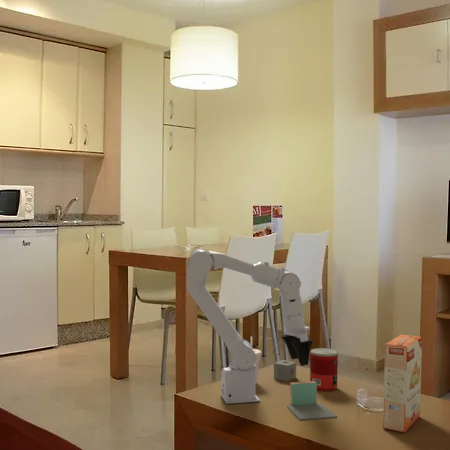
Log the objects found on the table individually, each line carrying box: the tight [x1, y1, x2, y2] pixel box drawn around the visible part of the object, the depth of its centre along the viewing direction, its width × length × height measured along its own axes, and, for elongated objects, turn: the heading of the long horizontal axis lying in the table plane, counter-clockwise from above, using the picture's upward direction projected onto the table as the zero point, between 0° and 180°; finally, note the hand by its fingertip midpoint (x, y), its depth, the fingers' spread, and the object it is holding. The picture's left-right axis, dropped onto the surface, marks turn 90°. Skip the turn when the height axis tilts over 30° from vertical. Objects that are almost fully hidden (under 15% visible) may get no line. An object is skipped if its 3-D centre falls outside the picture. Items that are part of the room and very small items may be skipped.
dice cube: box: [273, 359, 297, 382], centre depth 187 cm, size 5×5×5 cm
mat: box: [286, 403, 338, 421], centre depth 157 cm, size 10×10×1 cm
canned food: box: [309, 347, 339, 392], centre depth 178 cm, size 8×8×11 cm
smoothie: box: [250, 336, 262, 385], centre depth 182 cm, size 6×6×14 cm
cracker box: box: [382, 334, 423, 434], centre depth 149 cm, size 14×6×21 cm, turn 148°
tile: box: [289, 380, 318, 406], centre depth 163 cm, size 7×2×6 cm, turn 102°
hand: (299, 361), depth 168 cm, fingers open, 7 cm apart
